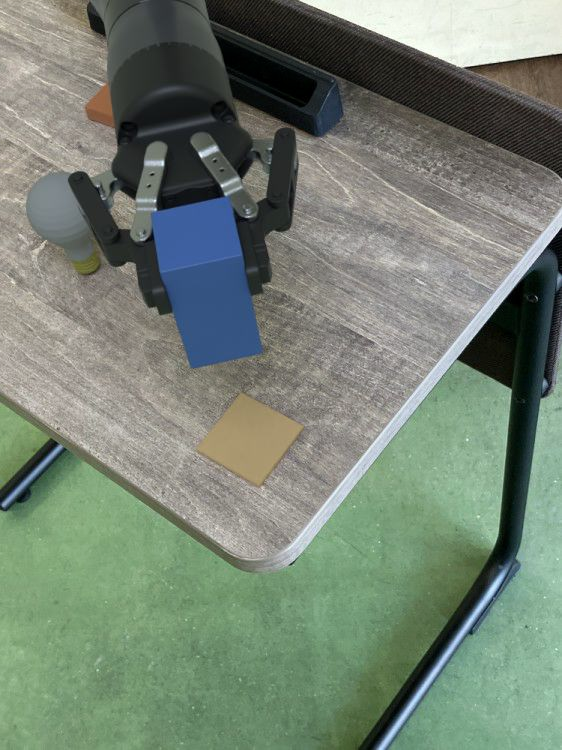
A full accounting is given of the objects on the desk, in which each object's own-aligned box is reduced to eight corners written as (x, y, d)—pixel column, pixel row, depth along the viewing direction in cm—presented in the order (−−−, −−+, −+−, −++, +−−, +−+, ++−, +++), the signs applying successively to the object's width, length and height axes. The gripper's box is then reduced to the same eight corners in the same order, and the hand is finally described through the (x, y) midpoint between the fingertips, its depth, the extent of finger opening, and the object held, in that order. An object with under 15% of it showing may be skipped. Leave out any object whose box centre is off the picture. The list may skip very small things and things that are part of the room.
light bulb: (48, 259, 80) (8, 172, 72) (109, 235, 81) (76, 147, 73) (66, 304, 77) (26, 219, 69) (129, 279, 78) (96, 192, 70)
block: (181, 312, 59) (150, 212, 52) (250, 297, 59) (229, 195, 52) (191, 369, 57) (159, 272, 49) (263, 353, 57) (242, 254, 49)
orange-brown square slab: (134, 70, 93) (130, 57, 92) (198, 90, 91) (195, 77, 89) (88, 118, 90) (83, 106, 89) (153, 141, 87) (150, 128, 86)
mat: (242, 394, 71) (241, 392, 70) (304, 428, 69) (303, 425, 68) (196, 451, 68) (195, 448, 68) (259, 488, 66) (258, 485, 66)
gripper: (40, 65, 57) (56, 279, 47) (273, 15, 57) (336, 218, 48) (75, 158, 63) (96, 364, 54) (286, 113, 64) (344, 309, 54)
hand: (209, 294), depth 51 cm, fingers closed on block, 4 cm apart
